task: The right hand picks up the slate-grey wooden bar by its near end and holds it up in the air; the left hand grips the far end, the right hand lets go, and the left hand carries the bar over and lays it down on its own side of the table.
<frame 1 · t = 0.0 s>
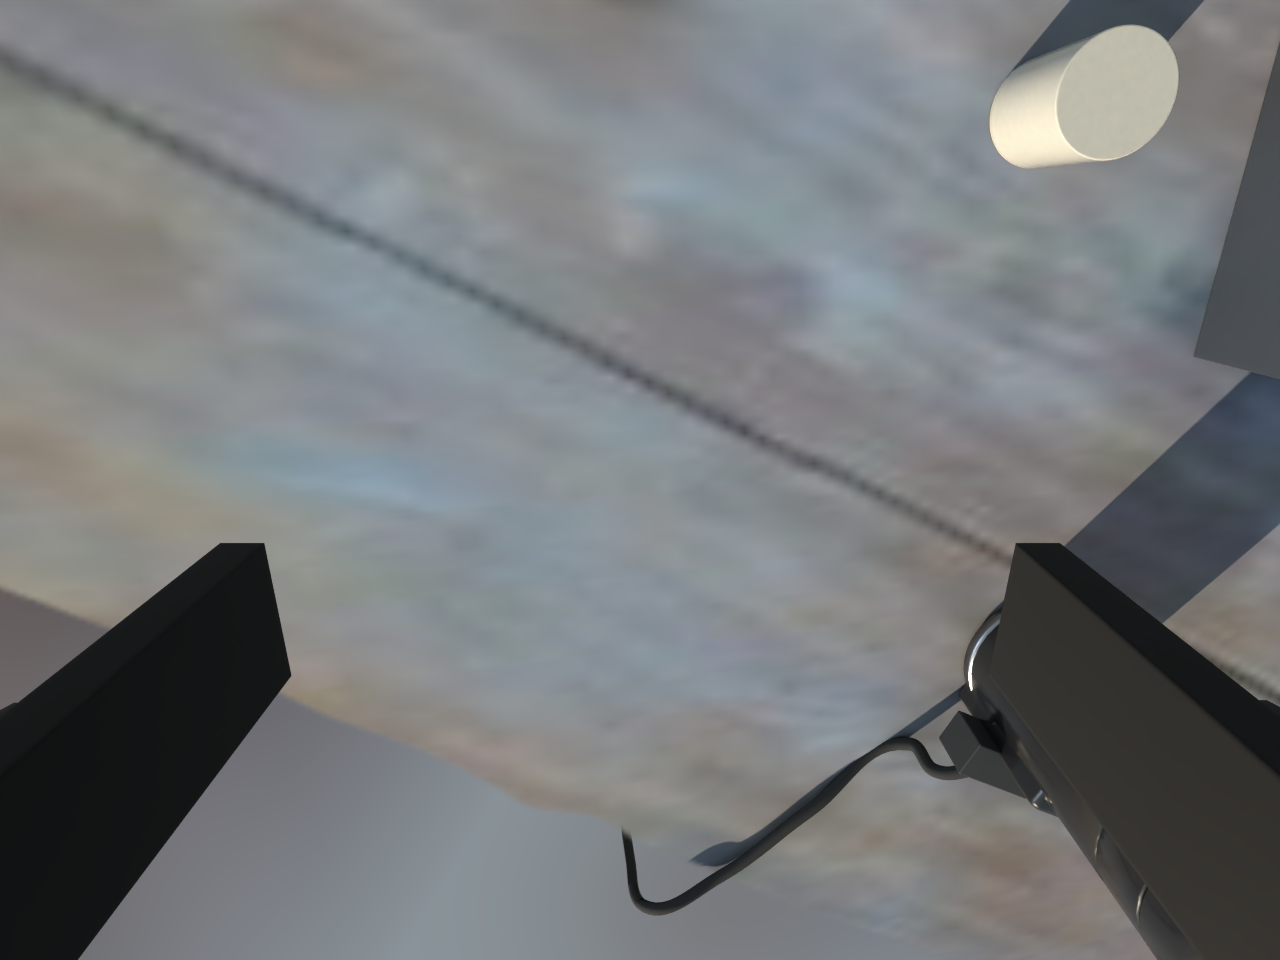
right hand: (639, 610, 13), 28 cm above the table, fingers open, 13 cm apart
off-white cylinder: (1040, 113, 35), on the table
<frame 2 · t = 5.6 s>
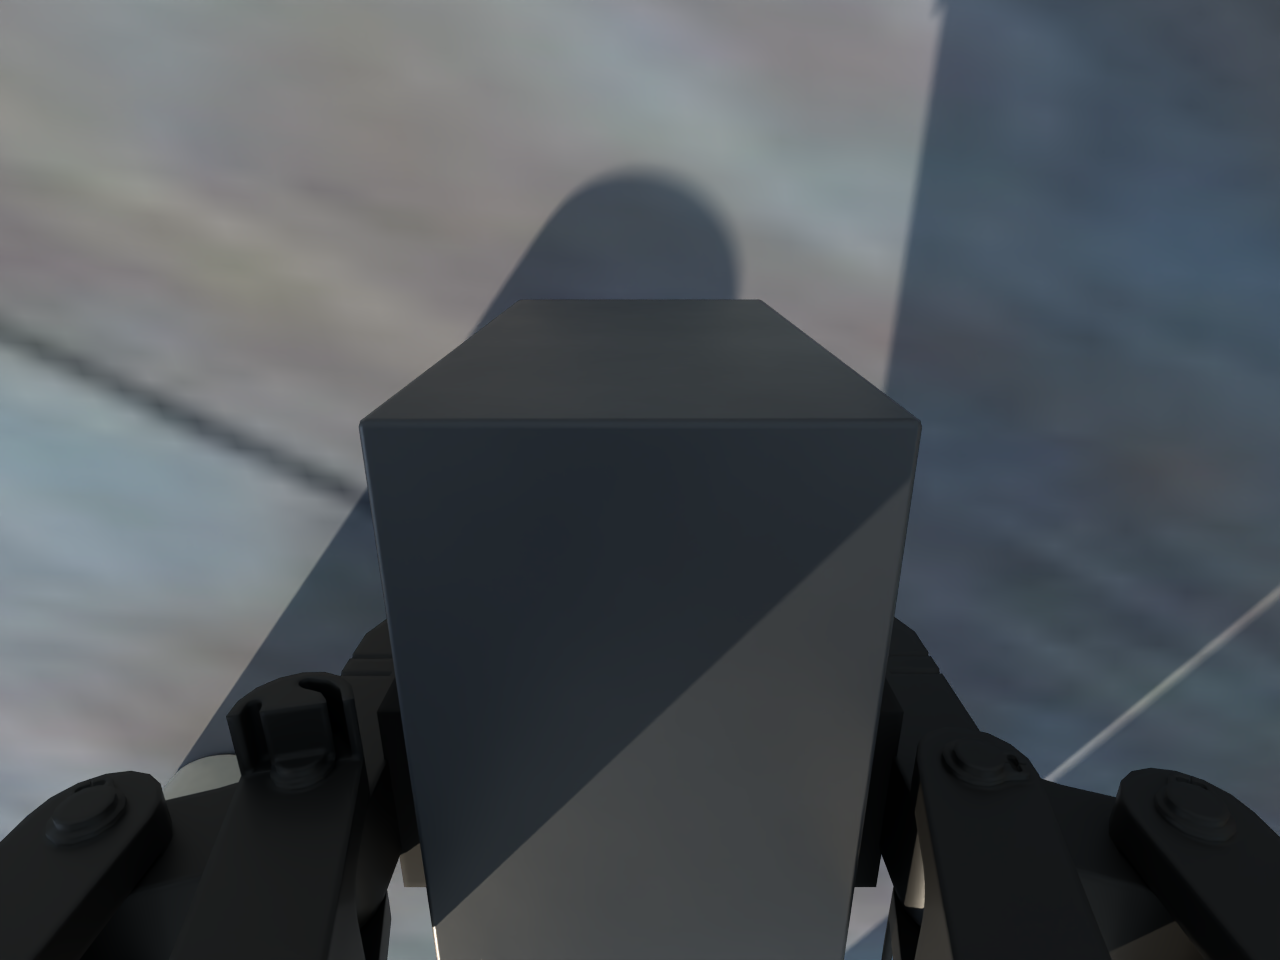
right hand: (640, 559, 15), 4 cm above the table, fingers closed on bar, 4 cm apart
bar: (640, 864, 18), point 4 cm above the table, touching right hand
off-white cylinder: (244, 816, 23), on the table
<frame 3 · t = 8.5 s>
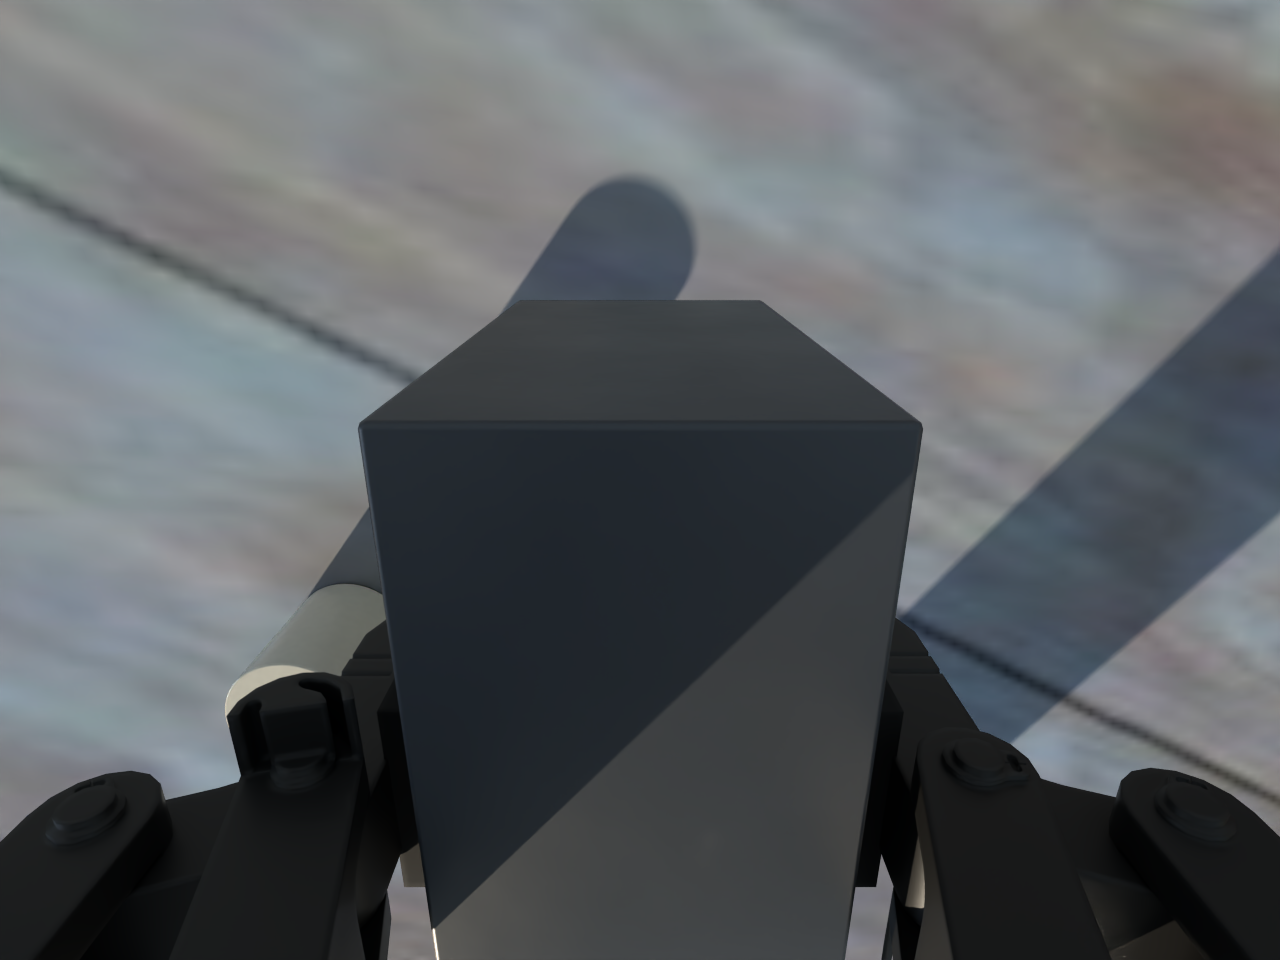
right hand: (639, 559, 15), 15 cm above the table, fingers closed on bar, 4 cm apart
bar: (640, 865, 18), point 14 cm above the table, touching right hand
off-white cylinder: (353, 632, 32), on the table
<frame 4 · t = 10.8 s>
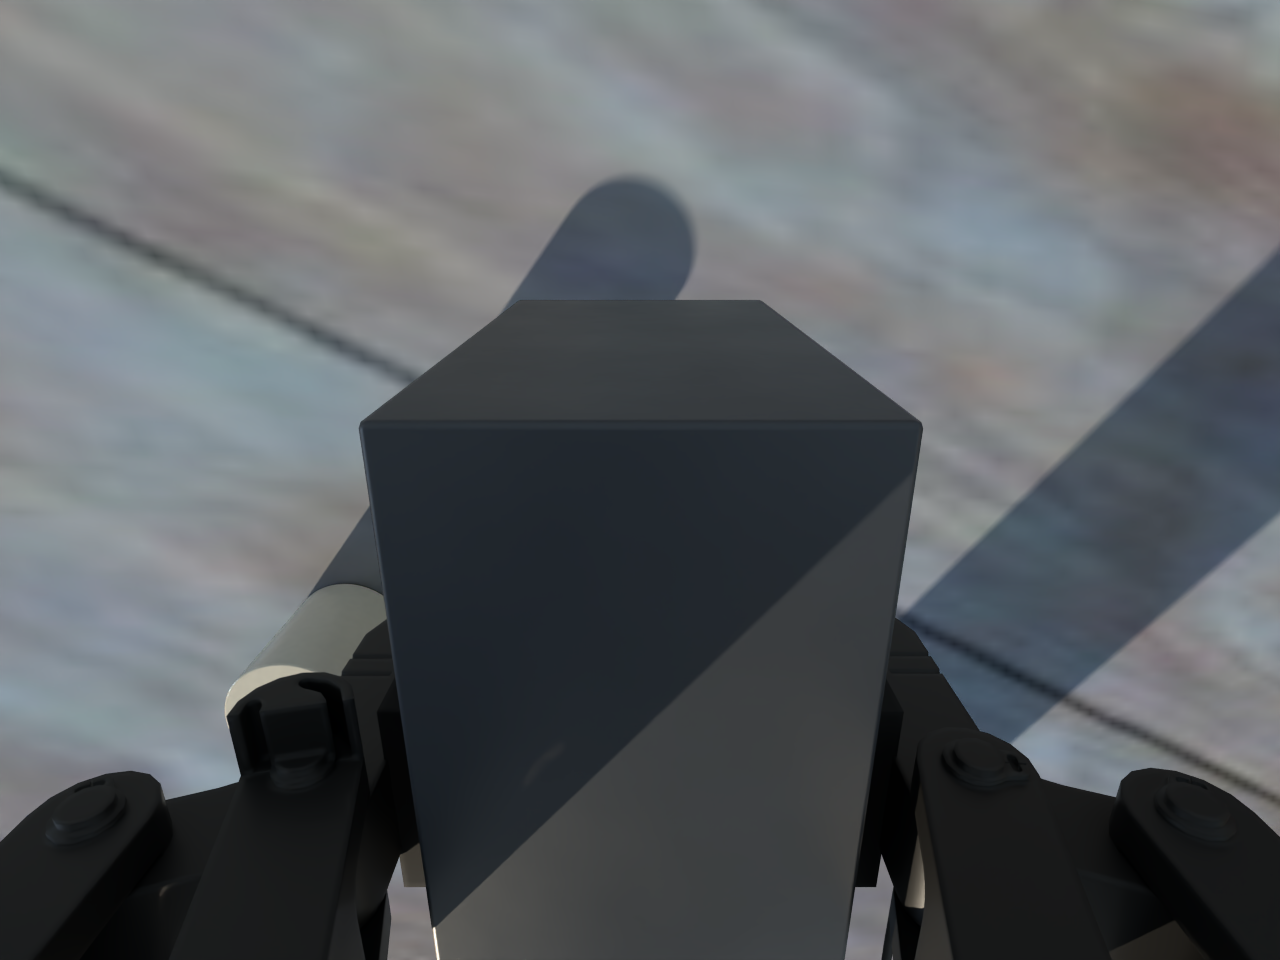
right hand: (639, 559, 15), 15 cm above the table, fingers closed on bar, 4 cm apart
bar: (639, 865, 18), point 14 cm above the table, touching right hand, left hand
off-white cylinder: (353, 632, 32), on the table
when the right hand's fingers open (15 cm above the table, at t = 11.6 s): bar stays where it is, held by the left hand.
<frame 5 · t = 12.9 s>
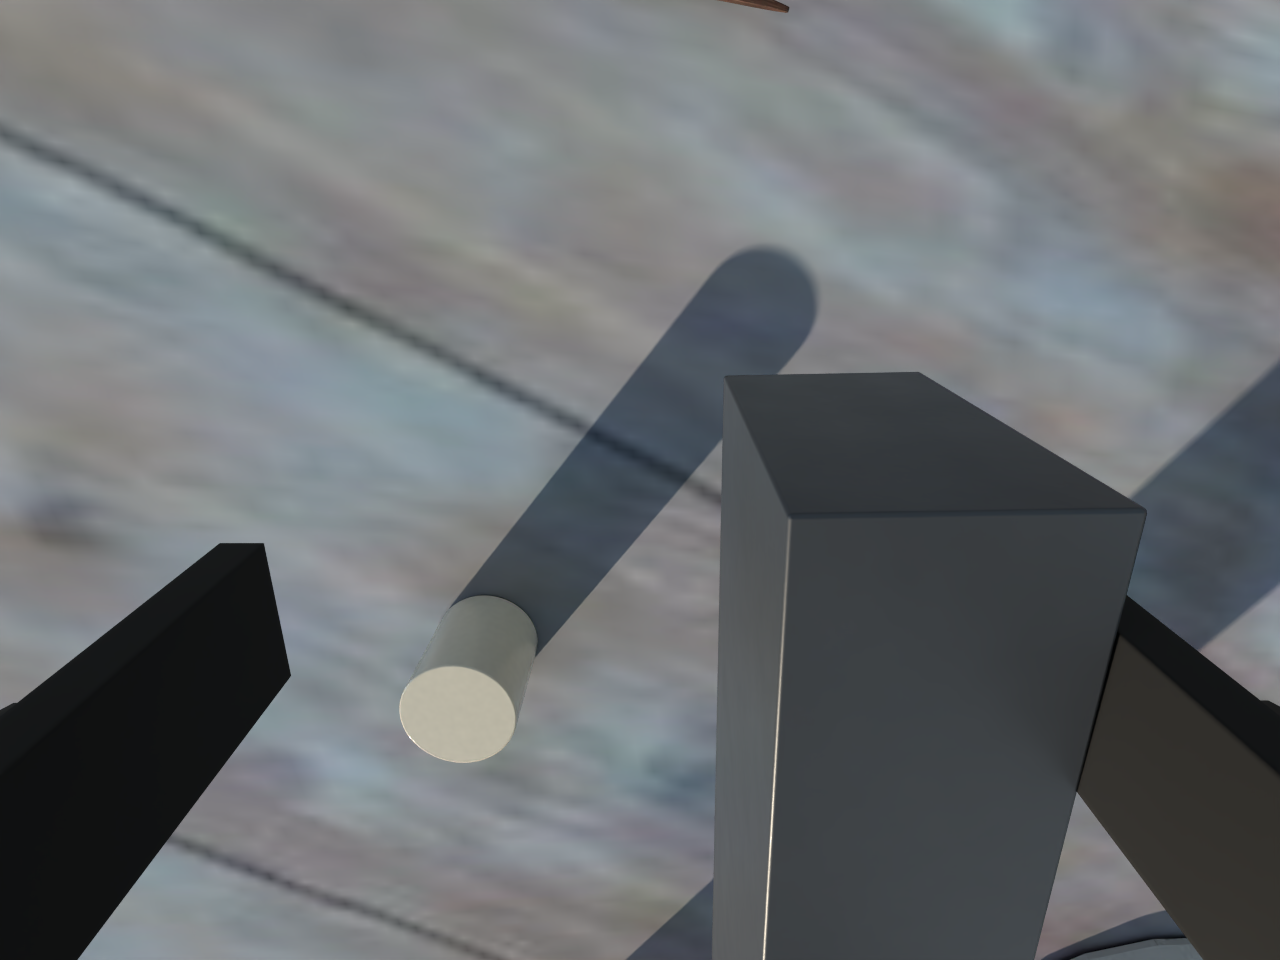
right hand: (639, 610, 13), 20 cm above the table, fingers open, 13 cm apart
bar: (789, 834, 21), point 14 cm above the table, touching right hand, left hand
off-white cylinder: (488, 638, 36), on the table
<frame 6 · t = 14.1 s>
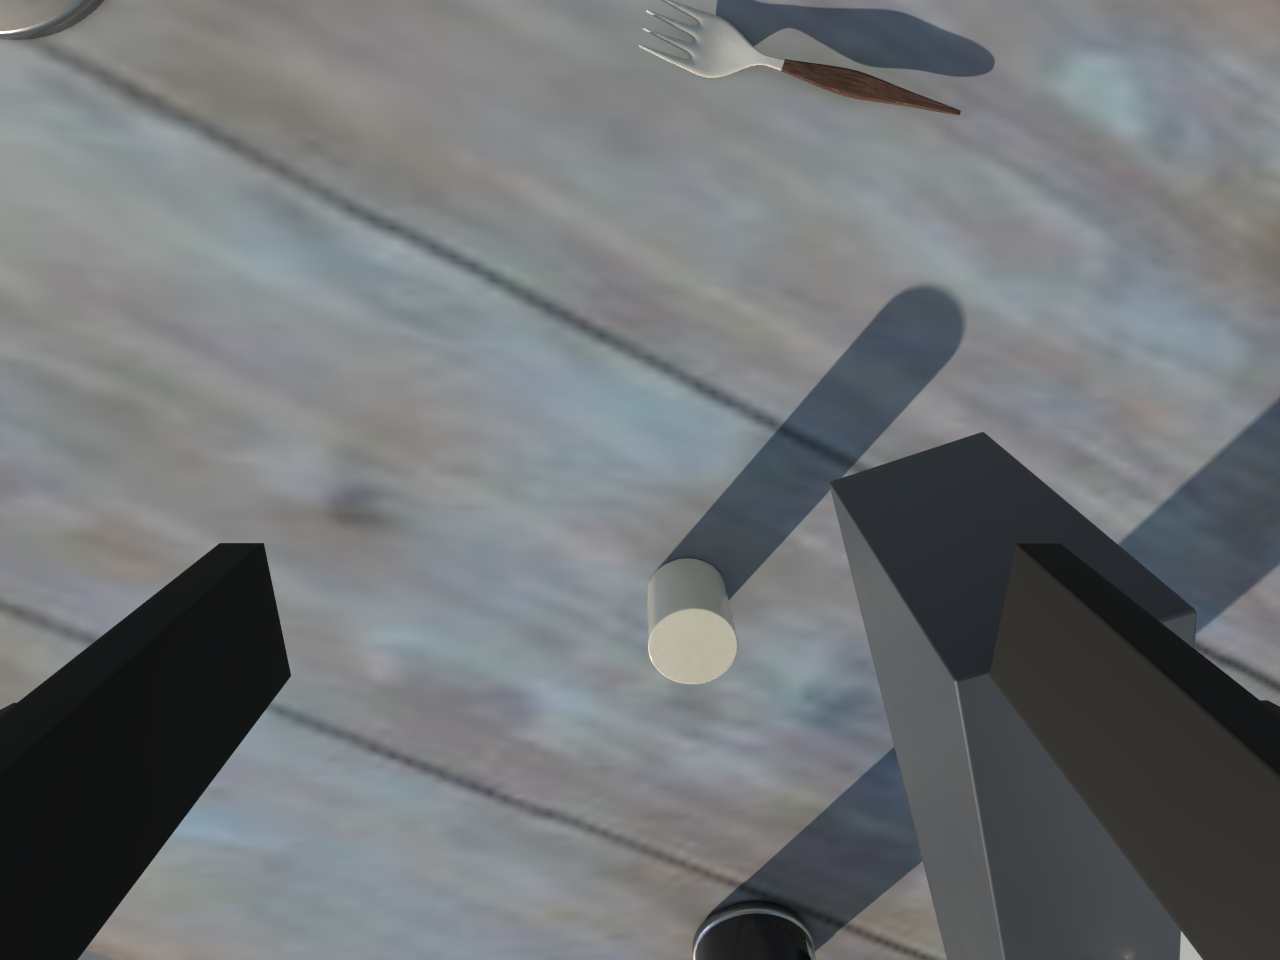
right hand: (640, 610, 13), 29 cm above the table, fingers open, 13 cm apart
bar: (962, 769, 27), point 19 cm above the table, tilted 8°, touching right hand, left hand
fork: (801, 73, 35), on the table
off-white cylinder: (686, 593, 45), on the table
when the left hand's fingers open (5 cm above the table, at t = 20.9 s): bar drops 2 cm, on the table.
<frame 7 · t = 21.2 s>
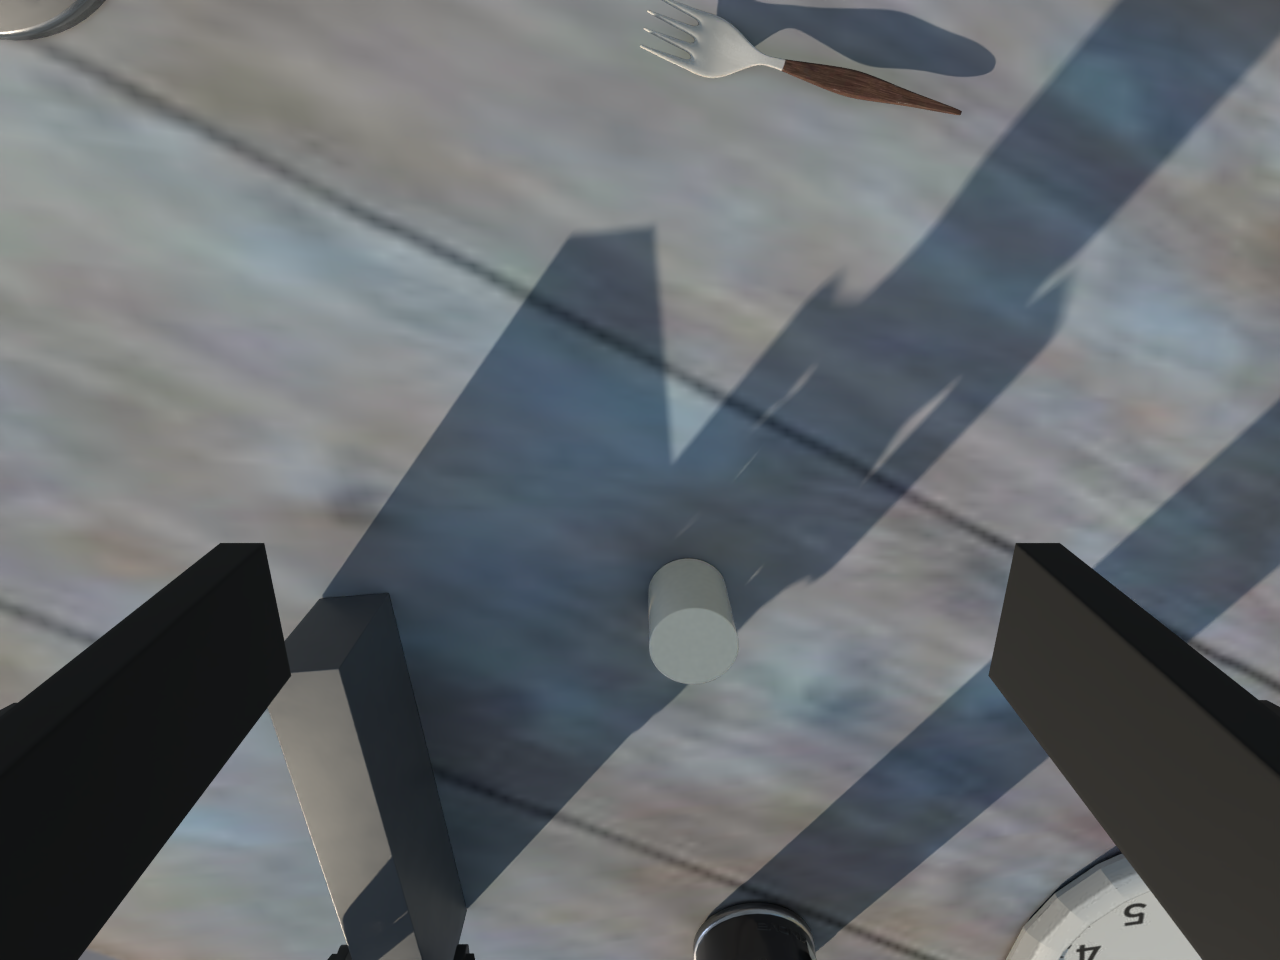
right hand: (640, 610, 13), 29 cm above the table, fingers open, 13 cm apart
bar: (400, 769, 50), on the table
fork: (802, 73, 35), on the table
off-white cylinder: (687, 593, 45), on the table
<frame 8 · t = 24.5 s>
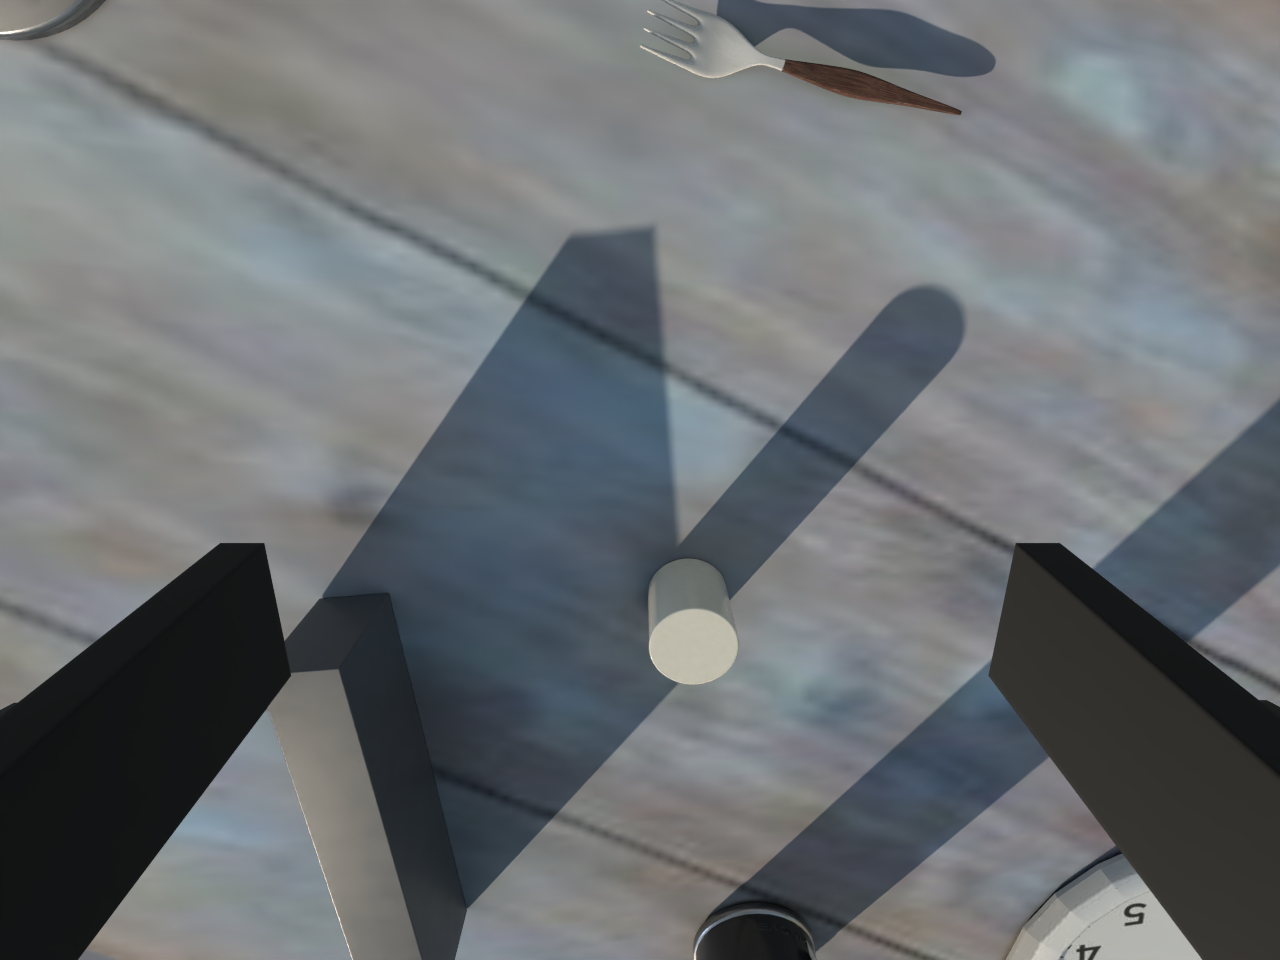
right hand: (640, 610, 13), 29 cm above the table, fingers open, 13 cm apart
bar: (400, 769, 50), on the table
fork: (802, 73, 35), on the table
off-white cylinder: (687, 593, 45), on the table
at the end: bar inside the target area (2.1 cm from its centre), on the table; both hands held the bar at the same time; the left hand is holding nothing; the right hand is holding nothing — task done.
